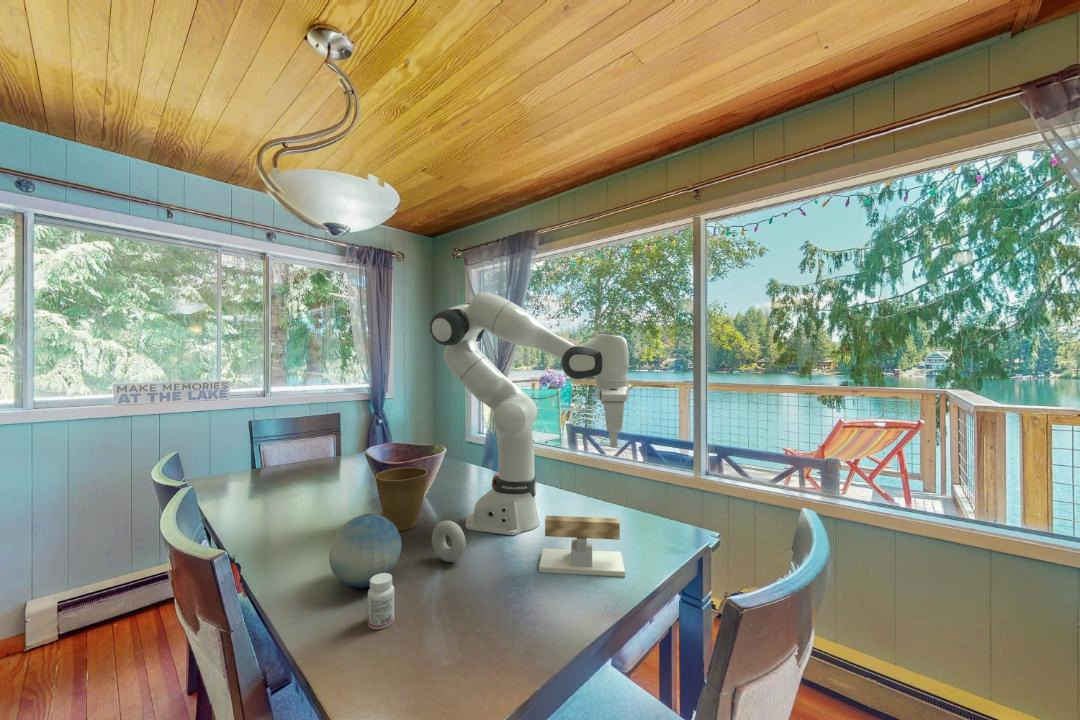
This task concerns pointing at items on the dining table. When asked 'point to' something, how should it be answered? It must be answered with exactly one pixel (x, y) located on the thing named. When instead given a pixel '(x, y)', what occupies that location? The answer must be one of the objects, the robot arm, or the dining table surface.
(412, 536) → the dining table surface
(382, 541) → the decorative ball
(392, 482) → the plant pot
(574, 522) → the pine bar
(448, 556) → the donut
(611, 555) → the fulcrum stand
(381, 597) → the pill bottle
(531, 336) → the robot arm
